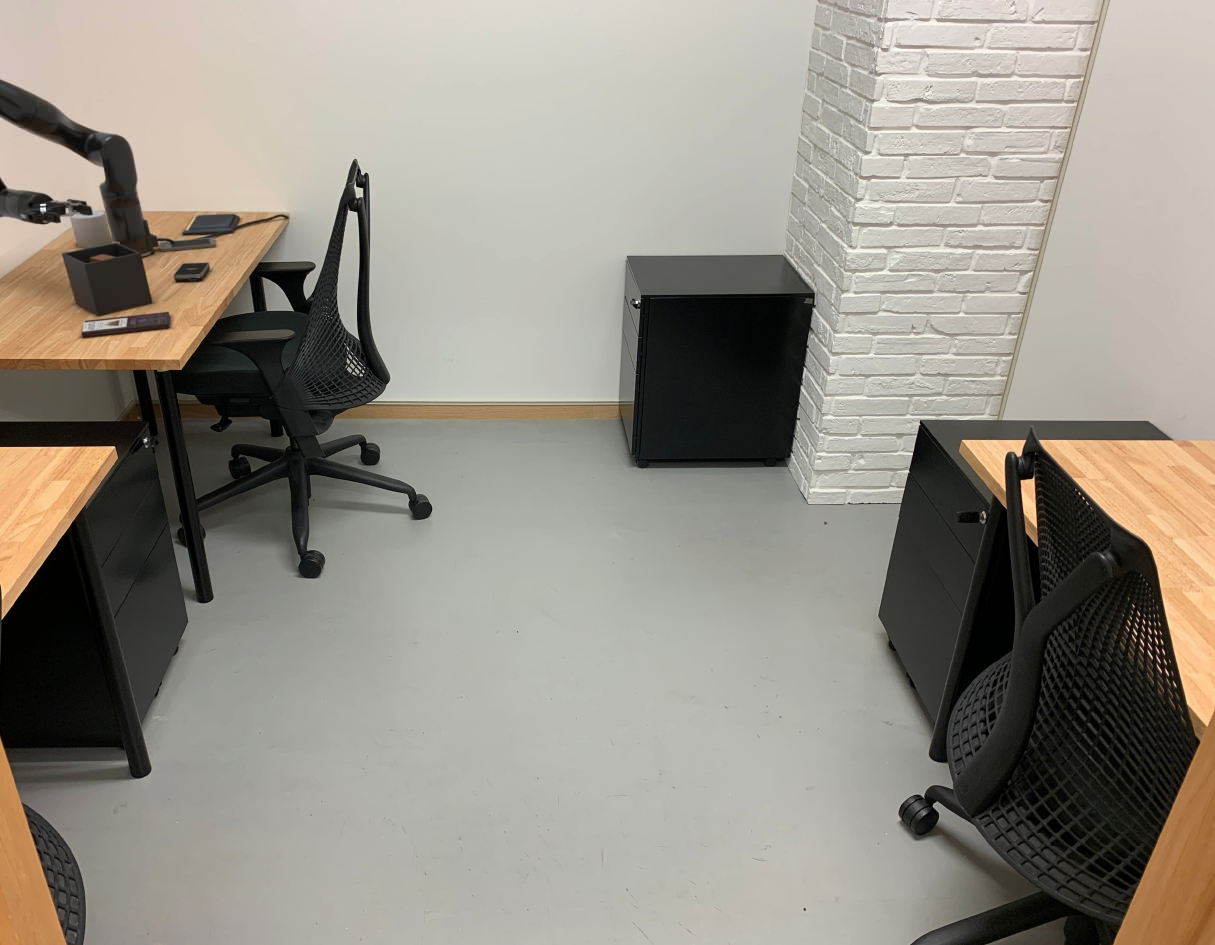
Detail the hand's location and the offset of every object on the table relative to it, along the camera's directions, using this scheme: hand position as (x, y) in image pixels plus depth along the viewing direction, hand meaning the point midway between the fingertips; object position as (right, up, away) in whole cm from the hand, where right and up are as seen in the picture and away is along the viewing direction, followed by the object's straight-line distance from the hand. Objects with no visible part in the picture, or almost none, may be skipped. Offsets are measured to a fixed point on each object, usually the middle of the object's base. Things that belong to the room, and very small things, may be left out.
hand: (74, 214), depth 221 cm
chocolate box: (+5, -19, +7) cm, 21 cm away
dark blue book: (+2, +16, +73) cm, 74 cm away
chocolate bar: (+16, -28, -6) cm, 33 cm away
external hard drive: (+16, -9, +28) cm, 33 cm away
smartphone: (+3, +5, +53) cm, 53 cm away
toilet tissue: (-25, +7, +55) cm, 61 cm away
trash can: (+5, -20, +8) cm, 22 cm away
